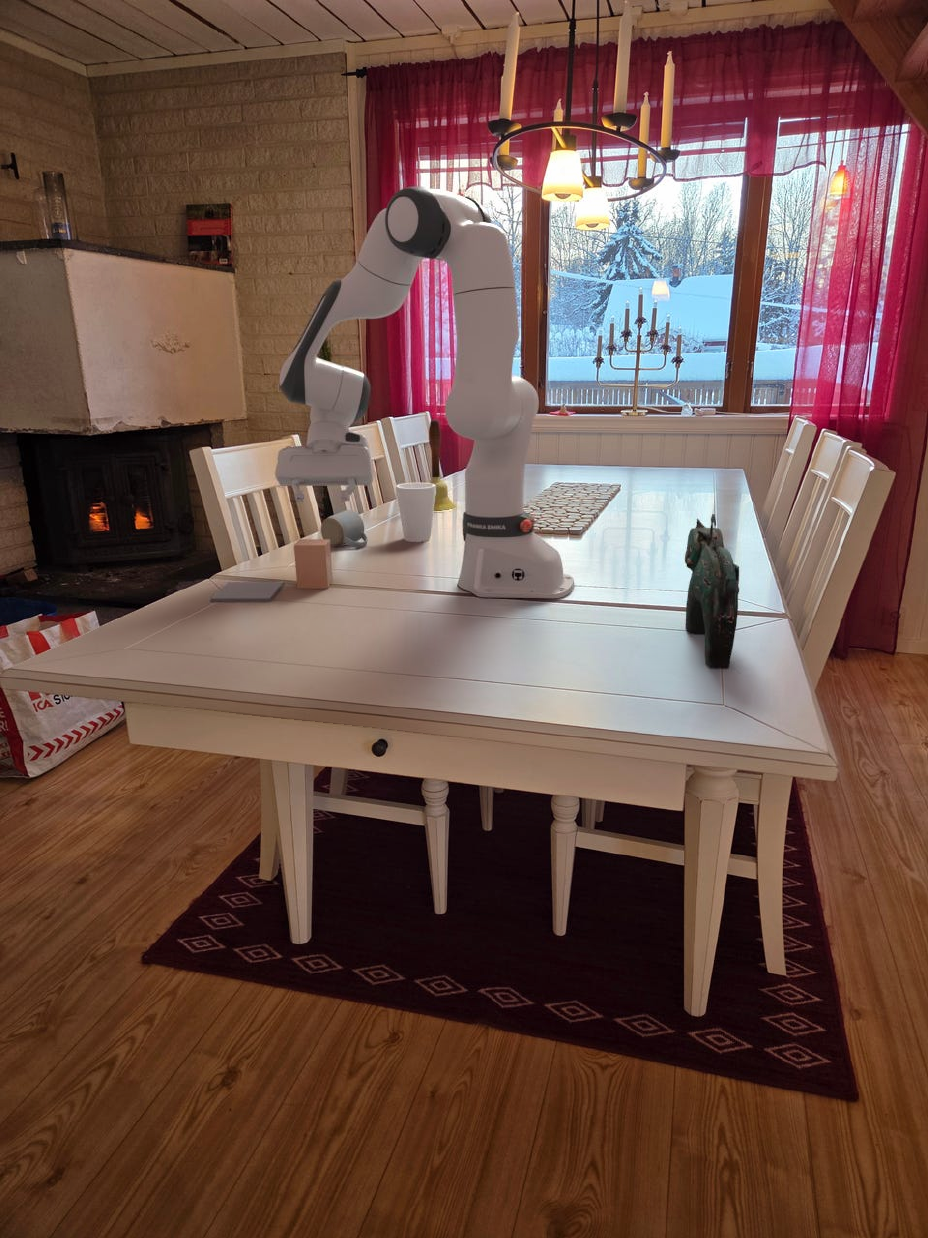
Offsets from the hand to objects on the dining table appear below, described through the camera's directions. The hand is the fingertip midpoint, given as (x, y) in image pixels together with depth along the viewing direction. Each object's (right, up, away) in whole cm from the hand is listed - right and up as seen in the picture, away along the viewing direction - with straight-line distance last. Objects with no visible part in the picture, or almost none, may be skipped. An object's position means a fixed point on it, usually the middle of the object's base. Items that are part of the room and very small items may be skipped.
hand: (322, 500), depth 163 cm
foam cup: (+18, -5, +31) cm, 36 cm away
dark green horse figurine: (+67, -29, -41) cm, 83 cm away
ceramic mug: (+1, -7, +26) cm, 27 cm away
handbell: (+21, +8, +68) cm, 72 cm away
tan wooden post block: (0, -18, -7) cm, 19 cm away
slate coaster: (-12, -19, -11) cm, 25 cm away
